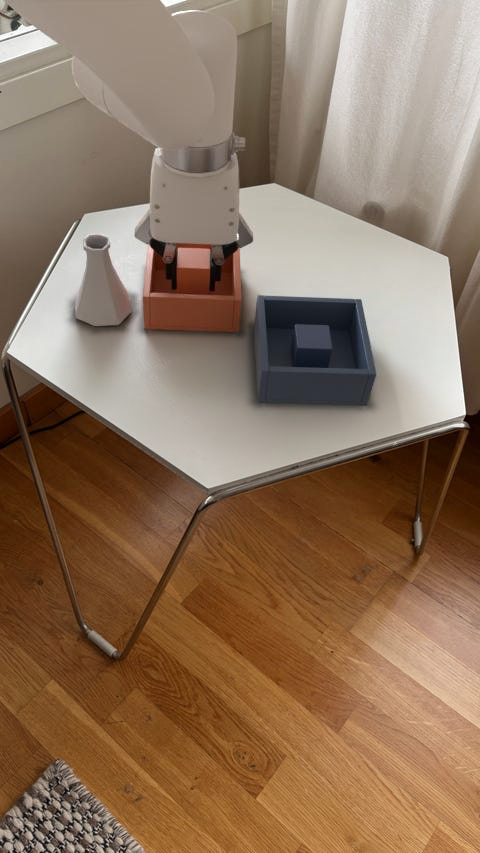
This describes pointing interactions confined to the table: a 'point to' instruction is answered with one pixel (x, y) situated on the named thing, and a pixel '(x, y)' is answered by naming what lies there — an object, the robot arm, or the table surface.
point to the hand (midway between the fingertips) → (193, 282)
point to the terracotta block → (193, 271)
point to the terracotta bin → (192, 298)
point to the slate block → (311, 346)
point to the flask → (101, 287)
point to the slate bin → (332, 385)
